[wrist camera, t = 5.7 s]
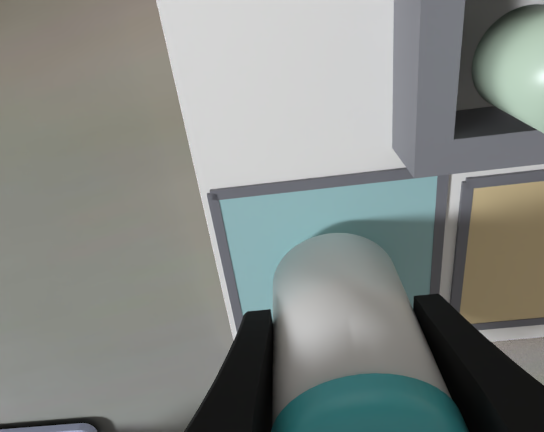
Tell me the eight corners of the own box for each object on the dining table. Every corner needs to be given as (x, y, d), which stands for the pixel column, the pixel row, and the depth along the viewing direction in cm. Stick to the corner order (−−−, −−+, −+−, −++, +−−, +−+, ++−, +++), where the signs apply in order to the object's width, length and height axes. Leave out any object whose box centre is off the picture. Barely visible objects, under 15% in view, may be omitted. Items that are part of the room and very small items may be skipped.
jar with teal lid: (398, 325, 13) (483, 553, 8) (280, 339, 13) (285, 568, 8) (397, 223, 11) (505, 427, 6) (261, 240, 12) (252, 451, 6)
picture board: (609, 318, 15) (670, 379, 12) (240, 350, 16) (234, 413, 13) (752, -109, 9) (913, -140, 7) (157, -22, 10) (122, -24, 8)
